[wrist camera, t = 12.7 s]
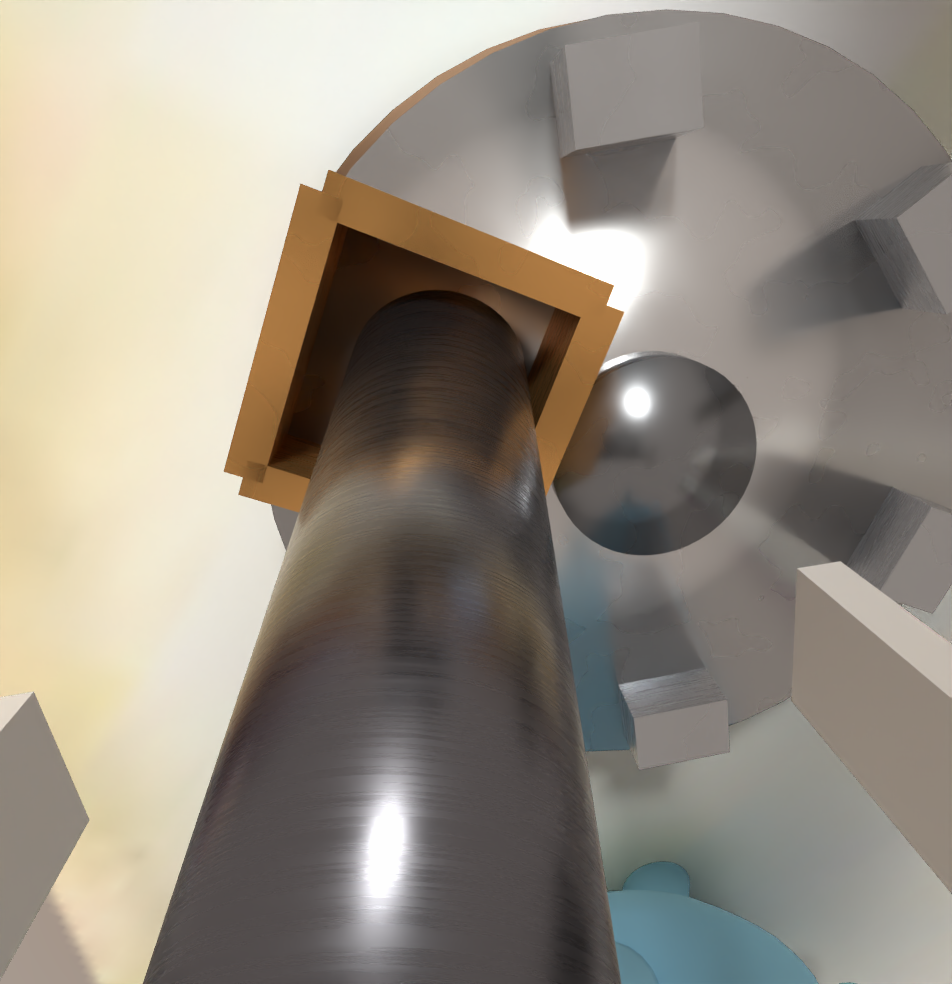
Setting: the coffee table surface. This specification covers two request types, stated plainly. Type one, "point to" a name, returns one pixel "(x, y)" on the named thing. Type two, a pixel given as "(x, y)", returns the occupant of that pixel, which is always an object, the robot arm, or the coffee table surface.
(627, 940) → the teapot
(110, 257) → the coffee table surface
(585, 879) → the steel pin
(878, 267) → the lugged metal disc
